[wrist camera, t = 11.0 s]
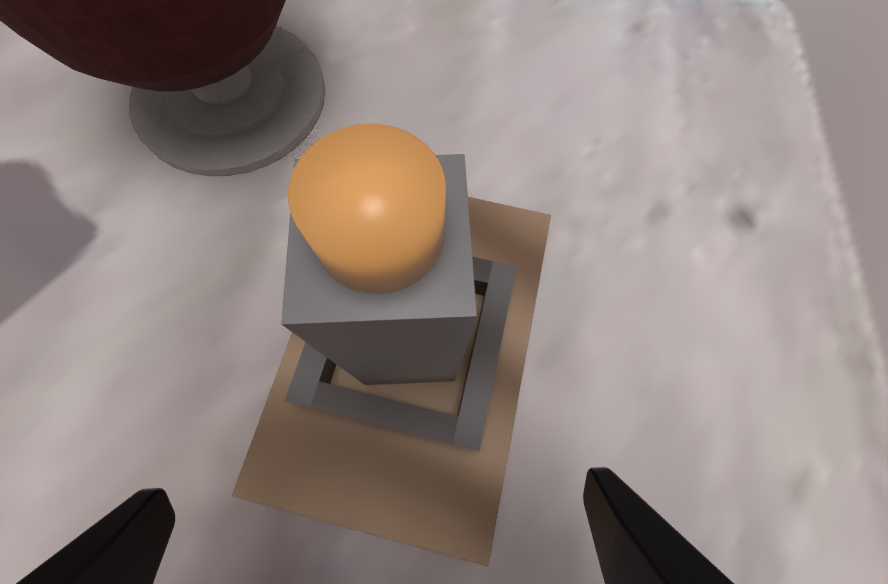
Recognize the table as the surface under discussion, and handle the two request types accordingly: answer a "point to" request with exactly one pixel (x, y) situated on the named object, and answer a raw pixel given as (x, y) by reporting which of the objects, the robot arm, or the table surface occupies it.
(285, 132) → the mate gourd
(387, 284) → the connector plug
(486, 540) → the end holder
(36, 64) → the table surface
